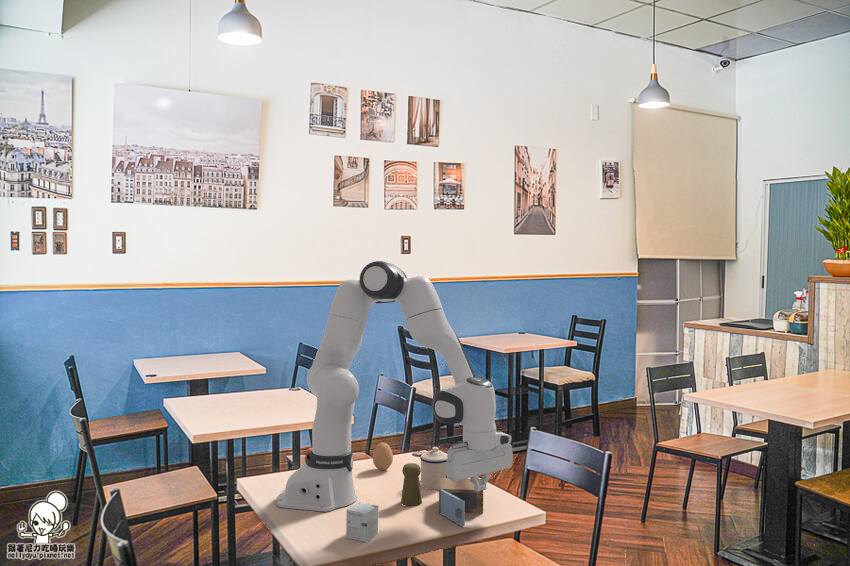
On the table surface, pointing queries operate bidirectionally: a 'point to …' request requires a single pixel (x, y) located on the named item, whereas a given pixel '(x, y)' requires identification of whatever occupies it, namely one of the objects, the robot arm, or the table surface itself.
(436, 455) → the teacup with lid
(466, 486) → the case
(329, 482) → the robot arm
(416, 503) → the olive green pepper mill
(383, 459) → the egg
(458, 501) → the door
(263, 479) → the table surface
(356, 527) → the skincare box
